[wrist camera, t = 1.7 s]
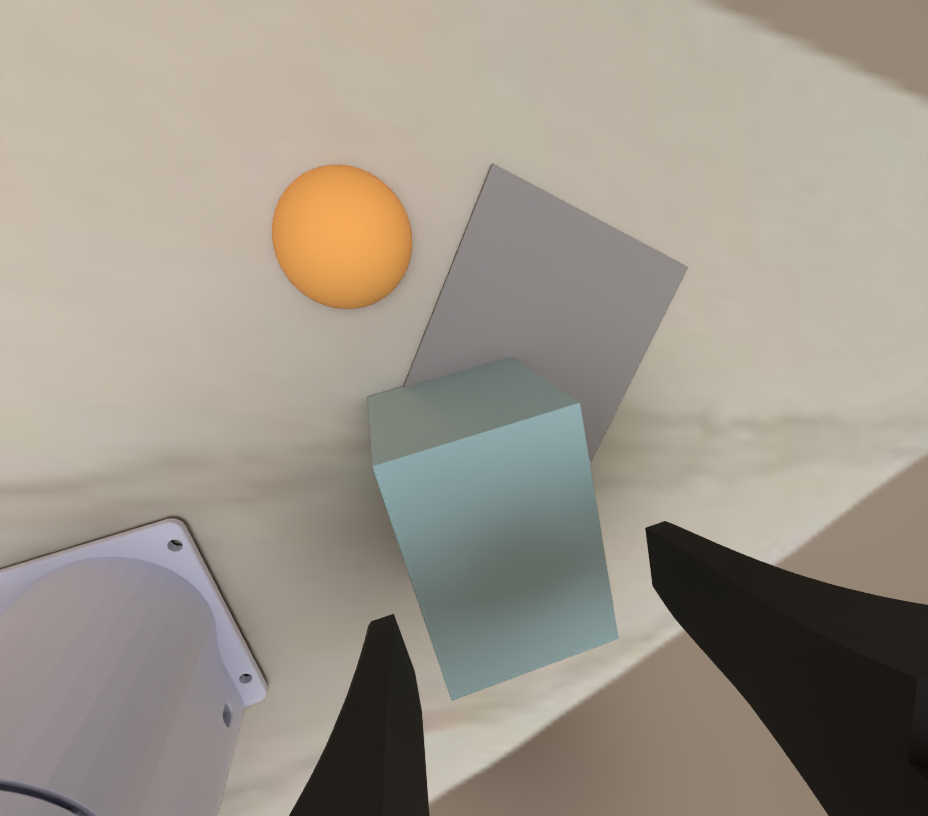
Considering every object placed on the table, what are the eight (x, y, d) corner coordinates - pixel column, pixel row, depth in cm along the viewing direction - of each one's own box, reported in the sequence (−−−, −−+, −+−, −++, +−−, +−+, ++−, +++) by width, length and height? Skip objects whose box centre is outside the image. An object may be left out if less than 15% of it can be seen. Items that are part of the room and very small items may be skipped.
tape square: (685, 266, 20) (688, 266, 20) (589, 459, 22) (591, 461, 22) (491, 164, 17) (493, 163, 17) (400, 393, 19) (400, 395, 19)
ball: (419, 285, 18) (435, 295, 14) (307, 315, 18) (292, 333, 14) (387, 162, 17) (395, 136, 13) (264, 191, 16) (234, 173, 12)
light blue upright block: (547, 533, 23) (618, 638, 17) (425, 574, 22) (451, 700, 16) (510, 355, 20) (579, 402, 14) (367, 396, 19) (372, 466, 13)
